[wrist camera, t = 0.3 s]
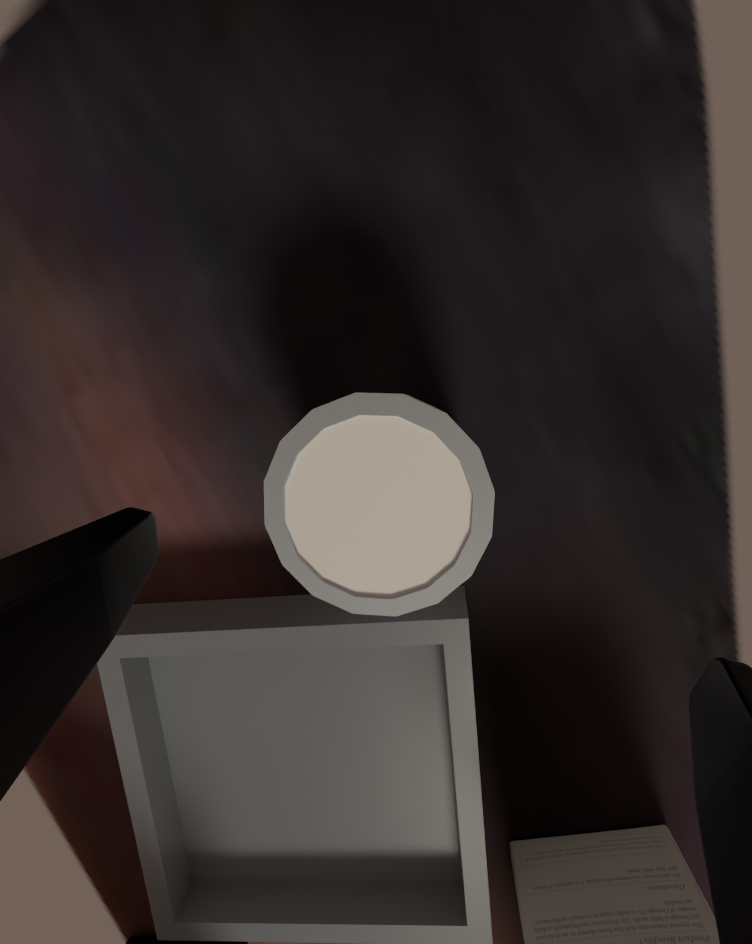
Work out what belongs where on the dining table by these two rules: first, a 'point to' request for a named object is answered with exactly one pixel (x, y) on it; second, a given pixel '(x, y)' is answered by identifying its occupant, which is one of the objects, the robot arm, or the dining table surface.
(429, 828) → the tray
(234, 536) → the dining table surface
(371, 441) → the white cup
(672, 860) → the supplement box
